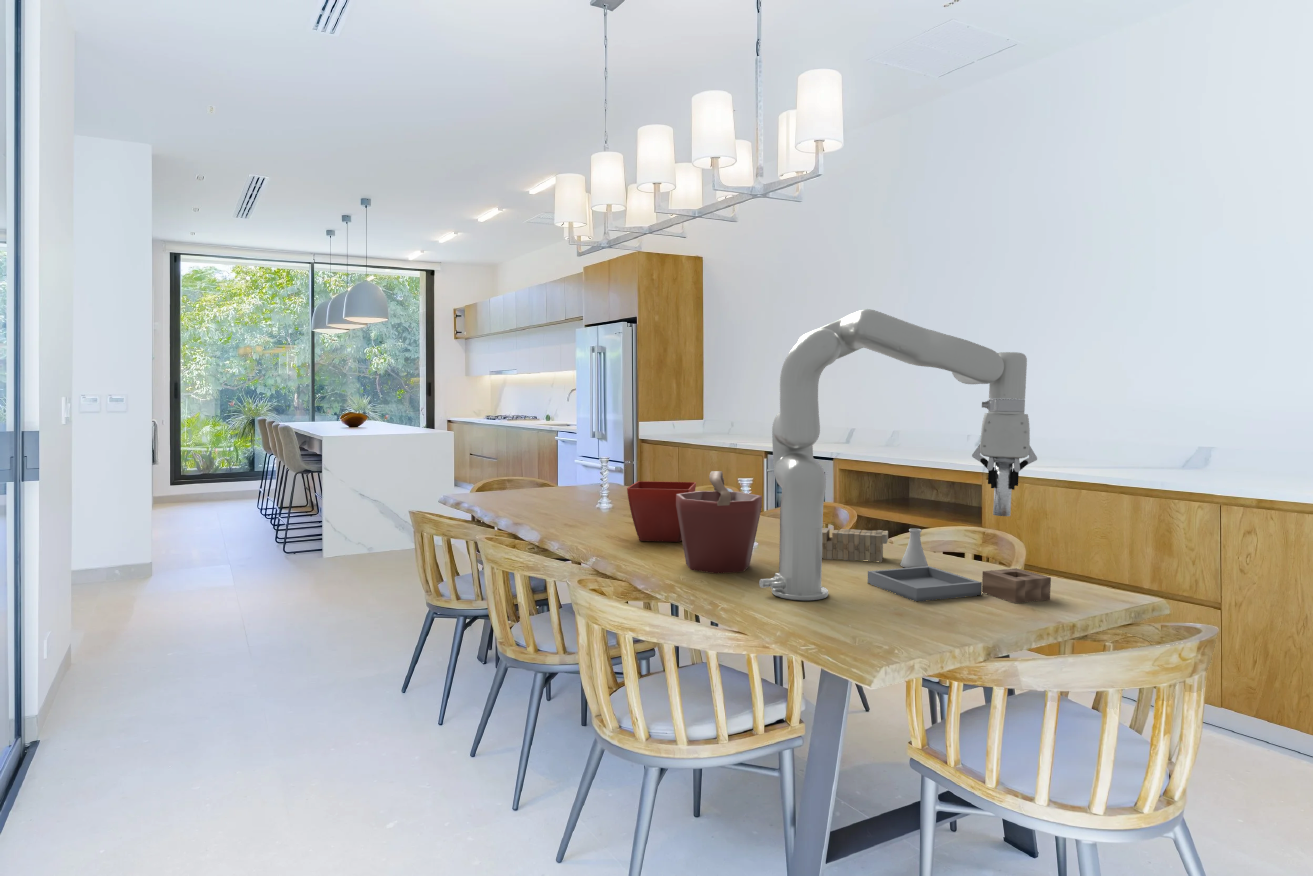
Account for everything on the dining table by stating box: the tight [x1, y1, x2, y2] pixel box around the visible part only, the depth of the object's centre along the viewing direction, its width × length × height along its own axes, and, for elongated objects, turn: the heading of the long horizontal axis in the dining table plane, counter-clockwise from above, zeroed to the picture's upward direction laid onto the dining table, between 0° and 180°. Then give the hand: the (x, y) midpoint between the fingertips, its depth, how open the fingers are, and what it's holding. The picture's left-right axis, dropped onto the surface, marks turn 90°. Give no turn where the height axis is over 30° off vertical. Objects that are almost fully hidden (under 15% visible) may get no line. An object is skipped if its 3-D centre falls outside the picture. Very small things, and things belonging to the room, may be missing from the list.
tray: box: [867, 565, 982, 602], centre depth 189 cm, size 18×18×3 cm
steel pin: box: [992, 457, 1015, 517], centre depth 183 cm, size 5×5×13 cm
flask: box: [899, 528, 929, 568], centre depth 213 cm, size 7×7×10 cm
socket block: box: [981, 567, 1052, 604], centre depth 183 cm, size 10×10×5 cm
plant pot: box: [626, 480, 697, 543], centre depth 251 cm, size 19×19×17 cm
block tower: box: [822, 527, 889, 563], centre depth 225 cm, size 8×8×29 cm
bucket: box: [676, 470, 763, 575], centre depth 211 cm, size 24×22×25 cm
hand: (1002, 487), depth 183 cm, fingers closed on steel pin, 3 cm apart
